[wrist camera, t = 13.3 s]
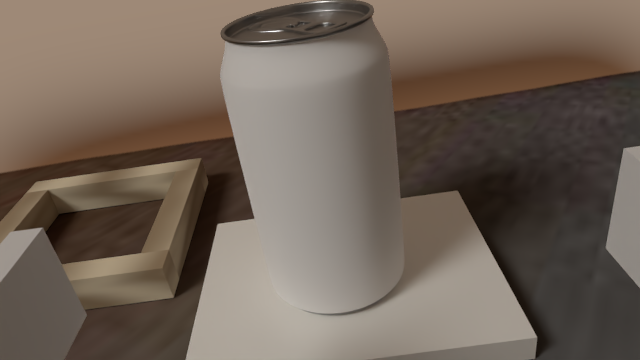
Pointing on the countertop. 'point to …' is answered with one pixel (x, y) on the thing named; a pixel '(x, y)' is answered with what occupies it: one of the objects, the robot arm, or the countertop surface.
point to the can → (318, 150)
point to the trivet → (378, 319)
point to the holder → (111, 190)
